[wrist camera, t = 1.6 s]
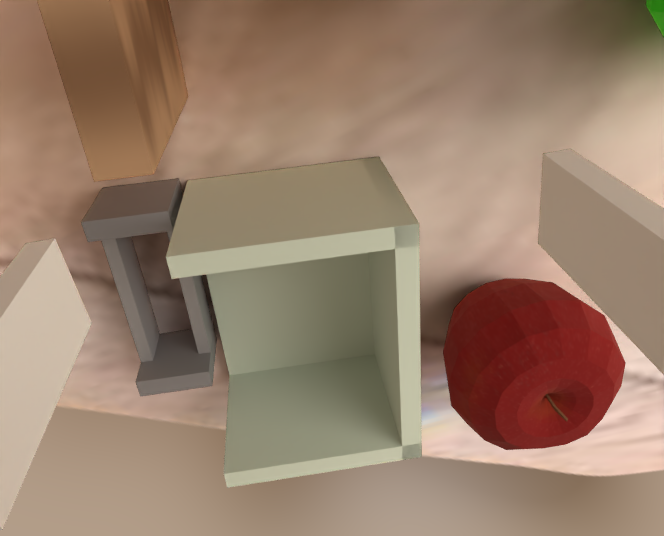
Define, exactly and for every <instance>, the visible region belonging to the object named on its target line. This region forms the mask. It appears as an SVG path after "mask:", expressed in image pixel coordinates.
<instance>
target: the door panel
mask: <svg viewBox="0 0 664 536" xmlns="http://www.w3.org/2000/svg"><path fill="white" fill-rule="evenodd" d="M37 2H38V5H39V8H40V12H41V15H42V18H43V21H44V24H45V27H46V31H47V34H48V37H49V40H50V43H51V46H52V50H53V53H54V56H55V59H56V62H57V65H58V69H59V72H60V75H61V78H62V81H63V84H64V88H65V91H66V94H67V97H68V100H69V103H70V107H71V110H72V113H73V116H74V119H75V122H76V126H77V129H78V132H79V135H80V138H81V141H82V145H83V148H84V151H85V154H86V157H87V161H88V164H89V167H90V170H91V173H92V176H93V180H94V182H96V181H104V180H112V179H120V178H129V177H137V176H145V175H153V174H154V172H155V170H156V168H157V165H158V163H159V161H160V159H161V156H162V154H163V152H164V150H165V147H166V145H167V143H168V141H169V138H170V136H171V134H172V132H173V129H174V127H175V125H176V123H177V120H178V118H179V116H180V114H181V111H182V109H183V107H184V105H185V102H186V100H187V98H188V93H187V88H186V83H185V78H184V74H183V69H182V64H181V59H180V55H179V50H178V45H177V40H176V36H175V31H174V26H173V21H172V16H171V12H170V7H169V2H168V0H37Z"/></svg>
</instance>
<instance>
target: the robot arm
mask: <svg viewBox="0 0 664 536" xmlns="http://www.w3.org/2000/svg"><path fill="white" fill-rule="evenodd" d="M538 244H539V245H540V246H541V247H542V248H543V249H544V250H545V251H546V252H547V253H548V254H549V255H550V256H551V257H552V258H553V259H554V260H555V262H556V263H557V264H558V265H559V266H560V267H561V268H562V269H563V270H564V271H565V272H566V273H567V274H568V275H569V276H570V277H571V278H572V279H573V280H574V281H575V282H576V283H577V285H578V286H579V287H580V288H581V289H582V290H583V291H584V292H585V293H586V294H587V295H588V296H589V297H590V298H591V299H592V300H593V301H594V302H595V303H596V304H597V305H598V306H599V308H600V309H601V310H602V311H603V312H604V313H605V314H606V315H607V316H608V317H609V318H610V319H611V320H612V321H613V322H614V323H615V324H616V325H617V326H618V327H619V328H620V329H621V331H622V332H623V333H624V334H625V335H626V336H627V337H628V338H629V339H630V340H631V341H632V342H633V343H634V344H635V345H636V346H637V347H638V348H639V349H640V350H641V351H642V352H643V354H644V355H645V356H646V357H647V358H648V359H649V360H650V361H651V362H652V363H653V364H654V365H655V366H656V367H657V368H658V369H659V370H660V371H661V372H662V373H663V374H664V208H662V207H661V206H659V205H658V204H656V203H655V202H653V201H651V200H650V199H648V198H647V197H645V196H644V195H642V194H640V193H639V192H637V191H636V190H634V189H633V188H631V187H630V186H628V185H626V184H625V183H623V182H622V181H620V180H619V179H617V178H615V177H614V176H612V175H611V174H609V173H608V172H606V171H604V170H603V169H601V168H600V167H598V166H597V165H595V164H594V163H592V162H590V161H589V160H587V159H586V158H584V157H583V156H581V155H579V154H578V153H576V152H575V151H573V150H572V149H566V150H560V151H555V152H549V153H543V161H542V179H541V198H540V216H539V234H538ZM91 324H92V322H91V320H90V318H89V316H88V313H87V311H86V309H85V306H84V304H83V302H82V299H81V297H80V295H79V292H78V290H77V288H76V285H75V283H74V281H73V278H72V276H71V274H70V271H69V269H68V267H67V265H66V262H65V260H64V258H63V255H62V253H61V251H60V248H59V246H58V244H57V241H56V239H55V238H53V239H48V240H42V241H36V242H30V243H26V244H25V245H24V246H23V247H22V249H21V250H20V251H19V253H18V254H17V255H16V257H15V258H14V259H13V260H12V262H11V263H10V264H9V266H8V267H7V268H6V270H5V271H4V272H3V273H2V275H1V276H0V530H3V527H4V525H5V523H6V520H7V518H8V516H9V513H10V511H11V509H12V507H13V504H14V502H15V500H16V497H17V495H18V493H19V490H20V488H21V486H22V483H23V481H24V479H25V477H26V474H27V472H28V470H29V467H30V465H31V462H32V460H33V458H34V456H35V453H36V451H37V449H38V446H39V444H40V442H41V439H42V437H43V435H44V432H45V430H46V428H47V425H48V423H49V421H50V419H51V416H52V414H53V412H54V409H55V407H56V405H57V403H58V400H59V398H60V396H61V393H62V391H63V389H64V386H65V384H66V382H67V379H68V377H69V375H70V372H71V370H72V368H73V366H74V363H75V361H76V359H77V356H78V354H79V352H80V349H81V347H82V345H83V342H84V340H85V338H86V335H87V333H88V331H89V329H90V326H91Z"/></svg>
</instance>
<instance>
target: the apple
mask: <svg viewBox="0 0 664 536" xmlns="http://www.w3.org/2000/svg"><path fill="white" fill-rule="evenodd" d="M443 355H444V361H445V368H446V374H447V381H448V387H449V393H450V400H451V406H452V407H453V408H454V409H455V410H456V412H457V413H458V414H459V415H460V416H461V417H462V418H463V420H464V421H465V422H466V423H467V424H468V425H469V426H470V427H471V428H472V429H473V430H474V431H475V432H476V433H478V434H479V435H480V436H481V437H482V438H483V439H484V440H485V441H488V442H490V443H492V444H494V445H496V446H499V447H501V448H503V449H505V450H513V449H536V448H547V447H553V446H559V445H565V444H568V443H570V442H572V441H575V440H577V439H579V438H581V437H583V436H586V435H588V433H589V432H590V431H591V430H592V429H593V428H594V427H595V426H596V425H597V424H598V423H599V422H600V421H601V420H602V419H603V417H604V415H605V413H606V412H607V410H608V408H609V407H610V405H611V403H612V401H613V400H614V398H615V396H616V394H617V393H618V391H619V389H620V387H621V384H622V379H623V374H624V368H625V361H624V359H623V356H622V354H621V351H620V349H619V347H618V344H617V342H616V340H615V337H614V335H613V333H612V331H611V329H610V326H609V324H608V322H607V320H606V318H605V316H604V315H603V314H601V313H600V312H598V311H597V310H595V309H593V308H592V307H590V306H589V305H587V304H586V303H584V302H582V301H581V300H579V299H578V298H576V297H574V296H573V295H571V294H570V293H568V292H567V291H565V290H564V289H562V288H560V287H559V286H557V285H556V284H554V283H552V282H545V281H537V280H530V279H502V280H498V281H493V282H489V283H486V284H484V285H482V286H480V287H479V288H477V289H475V290H474V291H472V292H470V293H468V294H467V295H466V296H465V297H464V299H463V300H462V301H461V302H460V303H459V304H458V305H457V306H456V307H455V308H454V311H453V314H452V317H451V320H450V323H449V326H448V331H447V336H446V341H445V346H444V350H443Z"/></svg>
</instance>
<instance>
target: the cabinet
mask: <svg viewBox="0 0 664 536" xmlns="http://www.w3.org/2000/svg"><path fill="white" fill-rule="evenodd" d="M81 223H82V226H83V229H84V232H85V235H86V238H87V241H88V242H93V241H100V240H101V241H102V244H103V247H104V250H105V253H106V256H107V259H108V263H109V266H110V269H111V272H112V275H113V278H114V281H115V284H116V287H117V290H118V293H119V296H120V299H121V302H122V305H123V308H124V312H125V315H126V318H127V321H128V324H129V327H130V330H131V333H132V336H133V339H134V342H135V345H136V348H137V351H138V354H139V357H140V360H141V364H140V368H139V372H138V375H137V379H136V385H137V388H138V391H139V394H140V396H147V395H154V394H161V393H167V392H174V391H181V390H188V389H195V388H202V387H208V386H212V383H213V372H214V362H215V351H216V341H217V339H216V335H215V331H214V327H213V322H212V318H211V314H210V310H209V305H208V301H207V297H206V293H205V288H204V284H203V280H202V276H201V275H205V274H206V276H207V280H208V285H209V289H210V293H211V298H212V302H213V306H214V311H215V315H216V319H217V324H218V328H219V333H220V337H221V341H222V346H223V350H224V354H225V359H226V363H227V367H228V372H229V390H228V408H227V425H226V443H225V460H224V477H225V480H226V484H227V487H234V486H241V485H247V484H253V483H260V482H265V481H273V480H279V479H285V478H291V477H298V476H304V475H311V474H317V473H323V472H329V471H336V470H341V469H348V468H355V467H361V466H367V465H374V464H380V463H386V462H393V461H399V460H406V459H412V458H418V457H422V446H421V354H420V261H419V223H418V221H417V219H416V218H415V216H414V214H413V213H412V211H411V209H410V208H409V206H408V204H407V203H406V201H405V199H404V197H403V196H402V194H401V192H400V191H399V189H398V187H397V186H396V184H395V182H394V181H393V179H392V177H391V176H390V174H389V172H388V171H387V169H386V167H385V166H384V164H383V162H382V161H381V159H380V157H373V158H365V159H356V160H348V161H340V162H332V163H324V164H316V165H308V166H300V167H292V168H284V169H276V170H268V171H260V172H252V173H244V174H236V175H228V176H220V177H212V178H204V179H196V180H188V181H187V184H186V188H185V191H184V195H182V191H181V186H180V182H179V178H178V179H170V180H162V181H154V182H146V183H138V184H130V185H122V186H114V187H106V188H102V190H101V191H100V193H99V195H98V196H97V198H96V199H95V201H94V203H93V204H92V206H91V207H90V209H89V210H88V212H87V214H86V215H85V217H84V218H83V220H82V222H81ZM162 232H167V234H168V238H169V242H170V244H169V247H168V251H167V254H166V260H167V264H168V268H169V271H170V275H171V279H176V278H179V280H180V284H181V288H182V292H183V296H184V299H185V303H186V307H187V311H188V315H189V319H190V323H191V326H192V329H191V330H184V331H176V332H169V333H162V334H160V333H159V330H158V326H157V323H156V319H155V316H154V313H153V309H152V306H151V303H150V299H149V296H148V292H147V289H146V286H145V282H144V279H143V276H142V272H141V269H140V265H139V262H138V259H137V255H136V252H135V249H134V245H133V242H132V238H131V236H139V235H147V234H155V233H162Z"/></svg>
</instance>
